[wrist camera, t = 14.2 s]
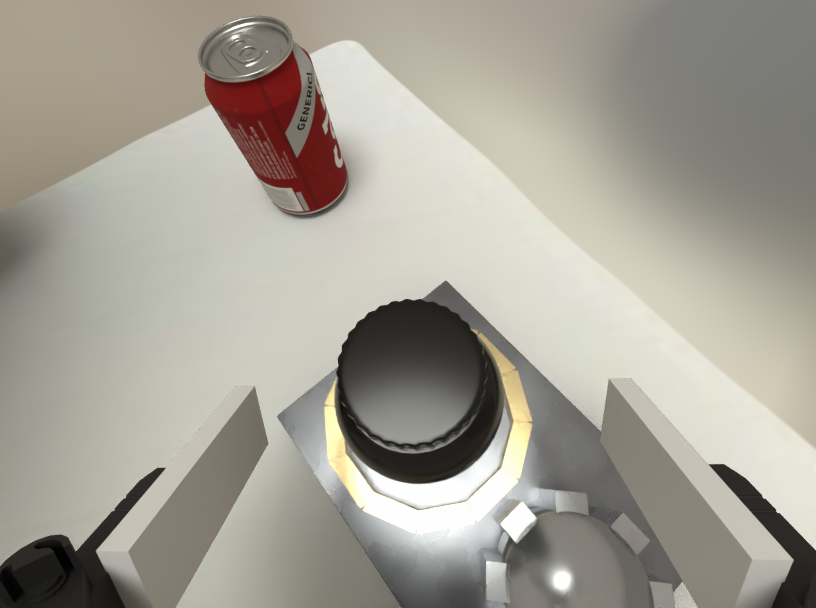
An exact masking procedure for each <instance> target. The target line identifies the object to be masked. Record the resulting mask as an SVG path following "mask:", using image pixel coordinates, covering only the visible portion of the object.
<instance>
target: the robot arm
mask: <svg viewBox="0 0 816 608" xmlns="http://www.w3.org/2000/svg"><path fill="white" fill-rule="evenodd" d="M600 442H601V443H602V445H603V447H604V448H605V450H606V452H607V454H608V455H609V457H610V459H611V460H612V462H613V464H614V465H615V467H616V469H617V471H618V472H619V474H620V476H621V477H622V479H623V481H624V482H625V484H626V486H627V487H628V489H629V491H630V493H631V494H632V496H633V498H634V499H635V501H636V503H637V504H638V506H639V508H640V510H641V511H642V513H643V515H644V516H645V518H646V520H647V521H648V523H649V525H650V527H651V528H652V530H653V532H654V533H655V535H656V537H657V538H658V540H659V542H660V543H661V545H662V547H663V549H664V550H665V552H666V554H667V555H668V557H669V559H670V560H671V562H672V564H673V566H674V567H675V569H676V571H677V572H678V574H679V576H680V577H681V579H682V581H683V583H684V584H685V586H686V588H687V589H688V591H689V593H690V594H691V596H692V598H693V600H694V601H695V603H696V605H697V606H698V608H816V550H815V549H814V548H813V547H812V546H811V545H810V544H809V543H808V542H807V541H806V540H805V539H804V538H803V537H802V536H801V535H800V534H799V533H798V532H797V531H796V530H795V529H794V528H793V527H792V526H791V525H790V524H789V522H788V521H787V520H786V519H785V518H784V517H783V516H782V515H781V514H780V513H777V512H776V509H775V508H774V507H773V506H772V505H771V504H770V503H769V502H768V501H767V500H766V499H763V497H762V495H761V494H760V493H759V492H758V491H757V490H756V489H755V487H754V486H753V485H752V484H751V483H750V482H749V481H748V480H747V479H746V478H744V477H743V476H741V475H740V474H738V473H737V472H735V471H734V470H732V469H731V468H729V467H727V466H726V465H724V464H707V462H706V461H705V460H704V459H703V458H702V457H701V456H700V455H699V453H698V452H697V451H696V450H695V449H694V448H693V447H692V446H691V445H690V443H689V442H688V441H687V440H686V439H685V438H684V437H683V436H682V434H681V433H680V432H679V431H678V430H677V429H676V428H675V427H674V426H673V424H672V423H671V422H670V421H669V420H668V419H667V418H666V417H665V415H664V414H663V413H662V412H661V411H660V410H659V409H658V408H657V407H656V405H655V404H654V403H653V402H652V401H651V400H650V399H649V398H648V396H647V395H646V394H645V393H644V392H643V391H642V390H641V389H640V388H639V386H638V385H637V384H636V383H635V382H634V381H633V380H632V379H631V378H618V379H609V382H608V389H607V396H606V403H605V410H604V416H603V423H602V430H601V437H600ZM267 445H268V441H267V436H266V432H265V428H264V424H263V419H262V415H261V411H260V407H259V402H258V398H257V394H256V390H255V386H235V387H234V389H233V390H232V391H231V392H230V393H229V395H228V396H227V397H226V398H225V399H224V400H223V402H222V403H221V404H220V405H219V406H218V408H217V409H216V410H215V411H214V412H213V413H212V415H211V416H210V417H209V418H208V419H207V421H206V422H205V423H204V424H203V425H202V426H201V428H200V429H199V430H198V431H197V432H196V433H195V435H194V436H193V437H192V438H191V439H190V441H189V442H188V443H187V444H186V445H185V446H184V448H183V449H182V450H181V451H180V452H179V454H178V455H177V456H176V457H175V458H174V459H173V461H172V462H171V463H170V464H169V465H168V466H167V468H157V469H155V470H154V471H152V472H151V473H150V474H148V475H147V476H146V477H144V478H143V479H141V480H140V481H139V482H138V483H137V484H136V485H135V486H134V488H133V489H132V490H131V491H130V492H129V493H128V494H127V495H126V498H125V499H123V500H122V501H121V502H120V503H119V504H118V505H117V507H116V508H115V511H112V512H111V513H110V514H109V515H108V517H107V518H106V519H105V520H104V521H103V522H102V523H101V524H100V526H99V527H98V528H97V529H96V530H95V531H94V532H93V533H92V534H91V536H90V537H89V538H88V539H87V540H86V541H85V542H84V543H83V544H82V546H81V547H80V548H79V549H78V550H77V551H76V552H75V550H74V548H73V546H72V544H71V542H70V540H69V538H68V537H66V536H63V535H51V536H47V537H44V538H42V539H39V540H36V541H34V542H32V543H30V544H28V545H27V546H25V547H23V548H21V549H20V550H18V551H17V552H16V553H14V554H13V555H12V556H10V557H9V558H8V559H7V560H6V561H5V562H4V563H3V564H2V565H1V566H0V608H176V606H177V604H178V602H179V601H180V599H181V597H182V595H183V594H184V592H185V590H186V588H187V586H188V585H189V583H190V581H191V579H192V578H193V576H194V574H195V572H196V571H197V569H198V567H199V565H200V563H201V562H202V560H203V558H204V556H205V555H206V553H207V551H208V549H209V548H210V546H211V544H212V542H213V541H214V539H215V537H216V535H217V533H218V532H219V530H220V528H221V526H222V525H223V523H224V521H225V519H226V518H227V516H228V514H229V512H230V510H231V509H232V507H233V505H234V503H235V502H236V500H237V498H238V496H239V495H240V493H241V491H242V489H243V488H244V486H245V484H246V482H247V480H248V479H249V477H250V475H251V473H252V472H253V470H254V468H255V466H256V465H257V463H258V461H259V459H260V457H261V456H262V454H263V452H264V450H265V449H266V447H267Z"/></svg>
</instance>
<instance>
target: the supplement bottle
mask: <svg viewBox="0 0 816 608" xmlns="http://www.w3.org/2000/svg"><path fill="white" fill-rule="evenodd" d="M338 364H339V366H338V368H337V371H336V375H337V379H336V384H335V393H334V404H335V413H336V417H337V422H338V425H339V428H340V430H341V433H342V435H343V437H344V439H345V441H346V443H347V444H348V446H349V447H350V449H351V450H352V451H353V453H354V454H355V455H356V456H357V457H358V458H359V459H360V460H361V461H362V462H363V463H364V464H365V465H366V466H368V467H369V468H370V469H372V470H373V471H375V472H377V473H378V474H380V475H382V476H384V477H387V478H389V479H392V480H395V481H398V482H402V483H407V484H432V483H437V482H441V481H444V480H447V479H450V478H452V477H455V476H457V475H459V474H460V473H462V472H464V471H465V470H467V469H468V468H470V467H471V466H472V465H473V464H475V463H476V462H477V461H478V460H479V459H480V458H481V457H482V455H483V454H484V453H485V452H486V450H487V449H488V448H489V446H490V445H491V443H492V441H493V439H494V438H495V436H496V433H497V431H498V428H499V426H500V422H501V419H502V414H503V408H504V387H503V381H502V376H501V373H500V370H499V367H498V364H497V362H496V360H495V358H494V356H493V354H492V353H491V351H490V350H489V348H488V346H487V345H486V344H485V343H484V341H483V340H482V339H481V338H480V337H479V336H478V335H477V334H476V333H475V332H473V331H472V330H471V329H470V325H469V323H467V322H466V321H463V320H462V319H461V317H460V315H459V314H457V313H455V312H451V311H450V309H449V308H448V307H447V306H441V305H438V304H437V303H436V302H434V301H430V302H426V301H424V300H422V299H418V300H414V301H413V300H409V299H405V300H403V301H401V302H398V301H393V302H391V303H390V304H388V305H383V306H380V307H378V308H377V310H375V311H372V312H369V313H368V314H367V315H366V317H365V318H364V319H362V320H360V321H358V322H357V324H356V327H355V328H354V329H353V330H351V331H350V332H349V334H348V338H347V340H346V341H345V342H344V343H343V345H342V352H341V354H340V355H339V357H338Z"/></svg>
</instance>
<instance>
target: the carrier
mask: <svg viewBox="0 0 816 608" xmlns="http://www.w3.org/2000/svg"><path fill="white" fill-rule="evenodd" d="M422 300H424V301H426V302H430V301H434V302H436V303H437V304H438V305H441V306H447V307H448V308H449V309H450V311H451V312H455V313H457V314H459V315H460V317H461V319H462V320H463V321H466V322H467V323H469V325H470V329H471V330H472V331H473V332H475V333H476V334H477V335H478V336H479V337H480V338H481V339H482V340H483V341H484V343H485V344H486V345H487V346H488V348H489V350H490V351H491V353H492V354H493V356H494V358H495V360H496V362H497V364H498V367H499V370H500V373H501V376H502V381H503V387H504V408H503V414H502V419H501V422H500V426H499V428H498V431H497V433H496V436H495V438H494V439H493V441H492V443H491V445H490V446H489V448H488V449H487V450H486V452H485V453H484V454H483V455H482V457H481V458H480V459H479V460H478V461H477V462H476V463H475V464H473V465H472V466H471V467H470V468H468V469H467V470H465V471H464V472H462V473H460V474H459V475H457V476H455V477H452V478H450V479H447V480H444V481H441V482H437V483H432V484H407V483H402V482H398V481H395V480H392V479H389V478H387V477H384V476H382V475H380V474H378V473H377V472H375V471H373V470H372V469H370V468H369V467H368V466H366V465H365V464H364V463H363V462H362V461H361V460H360V459H359V458H358V457H357V456H356V455H355V454H354V453H353V451H352V450H351V449H350V447H349V446H348V444H347V443H346V441H345V439H344V437H343V435H342V433H341V430H340V428H339V425H338V422H337V417H336V413H335V404H334V393H335V384H336V379H337V375H336V371H337V368H338V367H337V368H336V369H335V370H334V371H332V372H331V373H330V374H329V375H327V376H326V377H325V378H324V379H322V380H321V381H320V382H319V383H317V384H316V385H315V386H314V387H312V388H311V389H310V390H309V391H307V392H306V393H305V394H304V395H302V396H301V397H300V398H299V399H297V400H296V401H295V402H294V403H292V404H291V405H290V406H289V407H287V408H286V409H285V410H284V411H283V412H281V413H280V414H279V415H278V416H277V417H278V419H279V421H280V422H281V424H282V425H283V427H284V428H285V430H286V431H287V433H288V434H289V436H290V437H291V439H292V440H293V442H294V443H295V445H296V447H297V448H298V450H299V451H300V453H301V454H302V456H303V457H304V459H305V460H306V462H307V463H308V465H309V466H310V468H311V469H312V471H313V473H314V474H315V476H316V477H317V479H318V480H319V482H320V483H321V485H322V486H323V488H324V489H325V491H326V492H327V494H328V495H329V497H330V499H331V500H332V502H333V503H334V505H335V506H336V508H337V509H338V511H339V512H340V514H341V515H342V517H343V518H344V520H345V521H346V523H347V525H348V526H349V528H350V529H351V531H352V532H353V534H354V535H355V537H356V538H357V540H358V541H359V543H360V544H361V546H362V547H363V549H364V551H365V552H366V554H367V555H368V557H369V558H370V560H371V561H372V563H373V564H374V566H375V567H376V569H377V570H378V572H379V573H380V575H381V577H382V578H383V580H384V581H385V583H386V584H387V586H388V587H389V589H390V590H391V592H392V593H393V595H394V596H395V598H396V599H397V601H398V603H399V604H400V606H401V607H402V608H675V602H674V595H673V592H674V591H675V589H676V588H677V587H678V586H679V585H680V583H681V582H682V579H681V577H680V576H679V574H678V572H677V571H676V569H675V567H674V566H673V564H672V562H671V560H670V559H669V557H668V555H667V554H666V552H665V550H664V549H663V547H662V545H661V543H660V542H659V540H658V538H657V537H656V535H655V533H654V532H653V530H652V528H651V527H650V525H649V523H648V521H647V520H646V518H645V516H644V515H643V513H642V511H641V510H640V508H639V506H638V504H637V503H636V501H635V499H634V498H633V496H632V494H631V493H630V491H629V489H628V487H627V486H626V484H625V482H624V481H623V479H622V477H621V476H620V474H619V472H618V471H617V469H616V467H615V465H614V464H613V462H612V460H611V459H610V457H609V455H608V454H607V452H606V450H605V448H604V447H603V445H602V443H601V442H600V437H601V431H600V430H599V429H597V428H596V427H595V426H594V425H593V424H592V423H591V422H590V421H589V420H588V419H587V418H586V417H585V416H584V415H583V414H582V413H581V412H580V411H579V410H578V409H577V408H576V407H575V406H574V405H573V404H572V403H571V402H570V401H569V400H568V399H567V398H566V397H565V396H564V395H563V394H562V393H561V392H560V391H559V390H558V389H557V388H556V387H555V386H554V385H552V384H551V383H550V382H549V381H548V380H547V379H546V378H545V377H544V376H543V375H542V374H541V373H540V372H539V371H538V370H537V369H536V368H535V367H534V366H533V365H532V364H531V363H530V362H529V361H528V360H527V359H526V358H525V357H524V356H523V355H522V354H521V353H520V352H519V351H518V350H517V349H516V348H515V347H514V346H513V345H512V344H511V343H510V342H509V341H507V340H506V339H505V338H504V337H503V336H502V335H501V334H500V333H499V332H498V331H497V330H496V329H495V328H494V327H493V326H492V325H491V324H490V323H489V322H488V321H487V320H486V319H485V318H484V317H483V316H482V315H481V314H480V313H479V312H478V311H477V310H476V309H475V308H474V307H473V306H472V305H471V304H470V303H469V302H468V301H467V300H466V299H465V298H464V297H462V296H461V295H460V294H459V293H458V292H457V291H456V290H455V289H454V288H453V287H452V286H451V285H450V284H449V283H448V282H447V281H445V282H443V283H442V284H441V285H440V286H438V287H437V288H436V289H435V290H433V291H432V292H431V293H430V294H428V295H427V296H426V297H425V298H423V299H422Z"/></svg>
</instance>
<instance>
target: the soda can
mask: <svg viewBox="0 0 816 608" xmlns="http://www.w3.org/2000/svg"><path fill="white" fill-rule="evenodd" d="M198 60H199V63H200V66H201V67H202V69H203V70H204V72H205V92H206V95H207V98H208V99H209V101H210V103H211V104H212V106H213V108H214V109H215V111H216V112H217V114H218V116H219V117H220V119H221V120H222V122H223V124H224V125H225V127H226V128H227V130H228V132H229V133H230V135H231V136H232V138H233V139H234V141H235V143H236V144H237V146H238V147H239V149H240V151H241V152H242V154H243V155H244V157H245V159H246V160H247V162H248V163H249V165H250V167H251V168H252V170H253V171H254V173H255V175H256V176H257V178H258V179H259V181H260V183H261V184H262V186H263V187H264V189H265V190H266V192H267V194H268V195H269V197H270V198H271V200H272V202H273V203H274V204H275V205H276V206H277V207H278V208H280V209H281V210H283V211H285V212H288V213H292V214H311V213H315V212H318V211H321V210H323V209H325V208H327V207H329V206H330V205H332V204H333V203H334V202H335V201H336V200H337V199H338V198H339V197H340V196H341V194H342V193H343V191H344V189H345V187H346V184H347V170H346V167H345V164H344V161H343V157H342V154H341V151H340V148H339V145H338V142H337V139H336V136H335V133H334V129H333V126H332V123H331V120H330V117H329V114H328V111H327V108H326V104H325V101H324V98H323V95H322V92H321V89H320V86H319V83H318V80H317V76H316V73H315V70H314V67H313V64H312V61H311V58H310V56H309V55H308V53H307V52H306V51H305V49H304V48H302V47H301V46H300V45H299V44H298V43H296V42H295V41H294V40H293V37H292V34H291V32H290V29H289V28H288V26H287V25H286V24H285V23H283V22H282V21H280V20H278V19H275V18H272V17H267V16H250V17H244V18H240V19H236V20H233V21H231V22H228V23H226V24H224V25H222V26H221V27H219V28H217V29H216V30H214V31H213V32H212V33H211V34H210V35H209V36H208V37H207V38H206V39H205V40H204V42H203V43H202V45H201V47H200V49H199V53H198Z"/></svg>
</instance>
